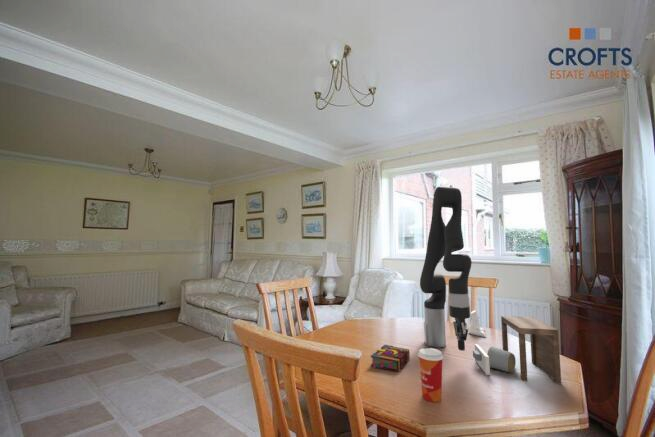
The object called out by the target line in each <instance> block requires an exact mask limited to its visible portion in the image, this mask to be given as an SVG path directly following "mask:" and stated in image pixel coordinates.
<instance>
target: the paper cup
mask: <svg viewBox="0 0 655 437" xmlns="http://www.w3.org/2000/svg"><path fill="white" fill-rule="evenodd" d="M417 356H418V360H419V370H420V372H419V373H420V375H419V376H420V384H421V395H422V398H423V399H424V400H425V401H427V402H429V401H431V402H430V403H439V402H440V400H441V401H442V390H443V388H442V387H443V383H442V382H443V360H444V355H443V352H442V351H441V350H439V349H437V348H433V347H430V348H429V347H426V348H424V347H421V348H420V349H419V350H418V353H417Z"/></svg>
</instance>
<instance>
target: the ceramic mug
mask: <svg viewBox="0 0 655 437" xmlns="http://www.w3.org/2000/svg"><path fill="white" fill-rule="evenodd" d="M486 354H487V355H488V356H489V365H490V369H491V368H492V369H495V370H499V371H502V372H506V373H512V372H514V370H515V369H516V363H517V362H516V356H515V354H514V353H513V352H510V351H509V350H508V351H505V350H503V348H502V349H501V348H498V347H495V346H490V347H488V350H487V353H486Z"/></svg>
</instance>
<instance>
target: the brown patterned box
mask: <svg viewBox="0 0 655 437" xmlns="http://www.w3.org/2000/svg"><path fill="white" fill-rule="evenodd" d="M410 355H411V353H410V349H408V348H402V347H397V346H394V345H389V344H383V346H381V347H380V348H378V349H376V351H375V352H373V353H372V354H371V355H370V359H372V362H371V364H370V367H371V369H376V368H377V369H384V370H388V371H392V372H397V373H399V372H400V371H402V370H403V369H404V366H405V365H408V364H409V360H410V359H411V358H410Z"/></svg>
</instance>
